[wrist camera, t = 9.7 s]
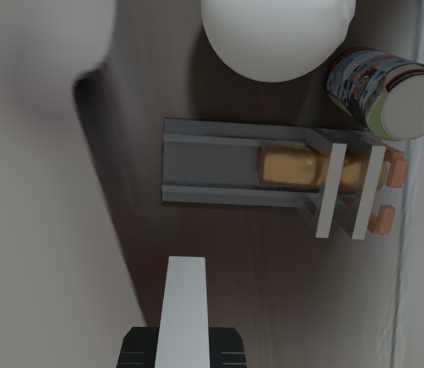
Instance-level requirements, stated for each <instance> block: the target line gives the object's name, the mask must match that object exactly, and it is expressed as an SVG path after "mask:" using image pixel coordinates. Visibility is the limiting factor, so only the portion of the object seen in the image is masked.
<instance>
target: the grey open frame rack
mask: <svg viewBox="0 0 424 368" xmlns="http://www.w3.org/2000/svg"><path fill="white" fill-rule="evenodd" d="M308 128H317V129H321V130H322V131H324V132H326V133H328V134H330V135H331V136H333V137H335V138H337V139H339V134H340V130H348V131H353V132H355V133H358V134H360V135H362V136H368V137H370V138H372V139H375V140H377V141H379V142H380V141H381V138H380V137H378V136H377V135H375V134H374V133H373V132H371V131H370V130H356V129H340V128H325V127H309V126H294V125H278V124H263V123H247V122H232V121H216V120H201V119H185V118H170V117H165V119H164V134H163V141H164V151H163V183H162V201H176V202H197V203H218V204H238V205H259V206H280V207H295V204H296V198H310V199H311V200H312V201H313V203H314V204H315V205H317V199H318V194H319V188H315V187H298V186H280V185H263V184H260V183H259V180H258V160H259V154H260V150H261V147H262V146H263V145H271V146H286V147H302V148H313V147H312V146H310V145H309V144H308V142H306V136H307V130H308ZM346 150H347V149H346ZM348 151H349V150H348ZM355 193H356V190H349V189H338V191H337V196H336V199H339V200H342V201H343V202H344V203H345V201H349V200H354V197H355Z"/></svg>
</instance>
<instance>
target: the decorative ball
mask: <svg viewBox="0 0 424 368" xmlns="http://www.w3.org/2000/svg"><path fill="white" fill-rule="evenodd" d="M355 5H356V0H201V13H202V20H203V25H204V29H205V32H206V35H207V37H208V40H209V42H210V44H211V46H212V47H213V49H214V51H215V52H216V54H217V55H218V56H219V57H220V59H221V60H222V61H223V62H224V63H225V64H226V65H227V66H229V67H230V68H231V69H232V70H234V71H235V72H237V73H239V74H240V75H242V76H245V77H247V78H250V79H253V80H257V81H262V82H282V81H288V80H291V79H295V78H298V77H300V76H303V75H305V74H307V73H309V72H310V71H312V70H314V69H315V68H316V67H318V66H319V65H321V64H322V63H323V62H324V61H325V60H326V59H327V58H328V57H329V56H330V55H331V54H332V53H333V52H334V51H335V50H336V48H337V47H338V46H339V45H340V44H342V42H343V41H344V40H345V37H346V34H347V30H348V26H349V23H350V21H351V20H352V18H353V17H354V13H355Z"/></svg>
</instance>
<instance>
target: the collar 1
mask: <svg viewBox="0 0 424 368" xmlns="http://www.w3.org/2000/svg"><path fill="white" fill-rule="evenodd" d="M306 142H308V144H309V145H310V146H312V147H313V148H314V149H316V150H317V151H318V152H320V153H321V154H322V155H324V156H325V161H324V166H323V172H322V177H321V183H320V188H319V194H318V199H317V205H315V204H314V203H313V201H312V200H311V199H310V198H296V204H295V208H296V209H297V211H298V212H299V214H300V215H301V217H302V218H303V220H304V221H305V223H306V224H307V226H308V227H309V228H310V230H311V231H312V233H313V234H314V236H315V237H317V238H328V236H329V231H330V226H331V221H332V216H333V211H334V206H335V201H336V196H337V191H338V186H339V181H340V176H341V171H342V166H343V161H344V156H345V151H346V146H347V144H346V143H344V142H342V141H340V140H339V139H337V138H335V137H333V136H331V135H330V134H328V133H326V132H324V131H322V130H321V129H317V128H308V130H307V136H306Z"/></svg>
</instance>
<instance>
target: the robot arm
mask: <svg viewBox="0 0 424 368" xmlns="http://www.w3.org/2000/svg"><path fill="white" fill-rule="evenodd" d="M116 368H247V365H246V359H245V354H244V347H243V341H242V338H241V337H240V335H239V334H238V332H237V331H236V329H235V328H219V327H208V316H207V294H206V272H205V257H178V256H169V262H168V270H167V278H166V285H165V293H164V300H163V308H162V315H161V323H160V327H132V328H131V330H130V331H129V332H128V333H127V335H126V336H125V337H124V339H123V344H122V347H121V351H120V355H119V359H118V364H117V367H116Z"/></svg>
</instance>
